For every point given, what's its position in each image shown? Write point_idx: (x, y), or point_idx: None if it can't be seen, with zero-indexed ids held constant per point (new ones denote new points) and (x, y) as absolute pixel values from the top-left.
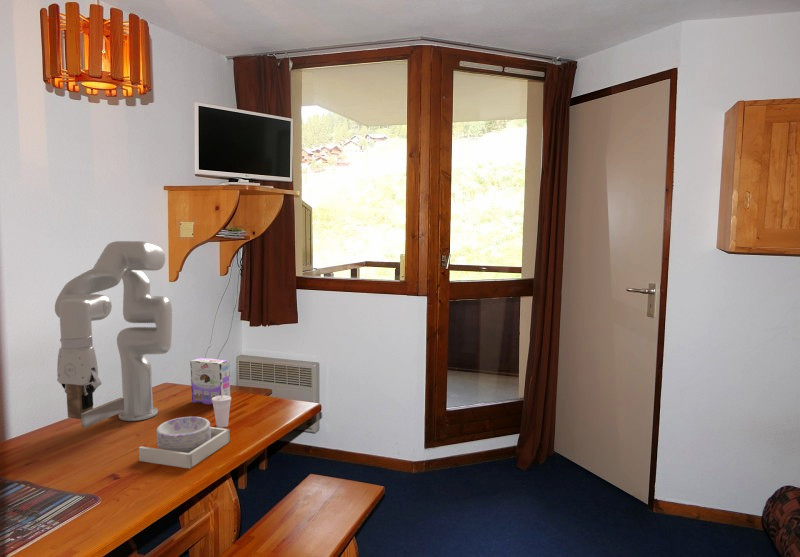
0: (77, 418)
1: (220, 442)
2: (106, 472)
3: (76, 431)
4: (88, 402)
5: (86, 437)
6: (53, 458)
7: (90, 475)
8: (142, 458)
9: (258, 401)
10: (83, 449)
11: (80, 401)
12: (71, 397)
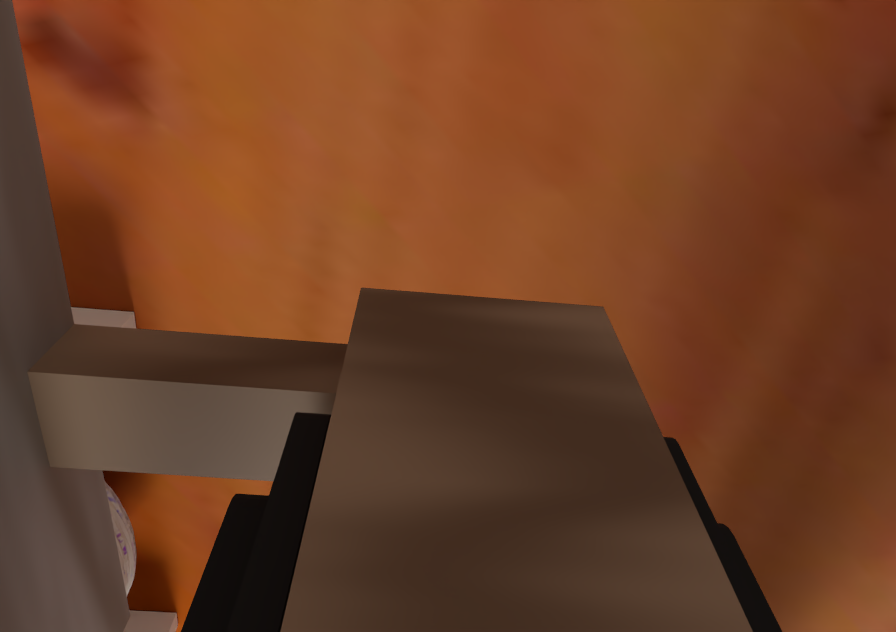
0: (422, 295)
1: None
2: (201, 111)
3: (834, 568)
4: (221, 535)
5: (722, 518)
6: (749, 233)
7: (275, 39)
8: (97, 319)
9: None
10: None
11: (315, 495)
12: (568, 558)
